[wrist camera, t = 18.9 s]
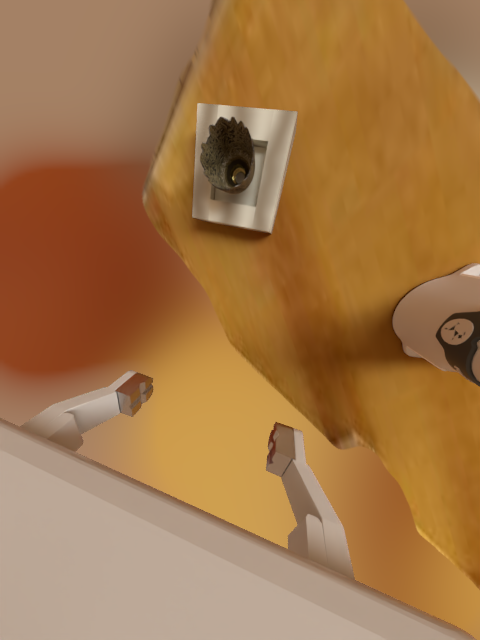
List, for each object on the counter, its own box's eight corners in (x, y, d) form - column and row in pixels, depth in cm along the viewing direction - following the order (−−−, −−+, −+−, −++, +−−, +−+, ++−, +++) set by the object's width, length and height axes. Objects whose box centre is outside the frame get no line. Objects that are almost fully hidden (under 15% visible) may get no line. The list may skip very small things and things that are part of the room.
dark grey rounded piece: (242, 213, 31) (229, 202, 24) (212, 183, 31) (190, 163, 24) (270, 171, 28) (265, 145, 21) (237, 138, 27) (221, 98, 20)
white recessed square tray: (295, 133, 28) (297, 111, 23) (271, 234, 34) (269, 232, 30) (210, 124, 30) (197, 103, 25) (203, 220, 36) (192, 217, 32)
